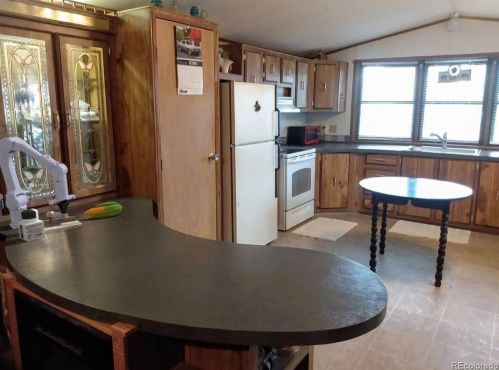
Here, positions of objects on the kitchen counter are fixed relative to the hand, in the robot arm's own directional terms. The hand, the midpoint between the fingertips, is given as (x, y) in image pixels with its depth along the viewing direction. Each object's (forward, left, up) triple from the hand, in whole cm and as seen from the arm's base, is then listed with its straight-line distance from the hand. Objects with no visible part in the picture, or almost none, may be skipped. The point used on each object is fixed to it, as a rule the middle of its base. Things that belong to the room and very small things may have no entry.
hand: (64, 215), depth 192 cm
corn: (-3, +21, -5) cm, 21 cm away
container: (+11, -17, -5) cm, 21 cm away
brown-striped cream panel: (-1, -3, -5) cm, 6 cm away
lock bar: (-2, -3, -1) cm, 3 cm away
